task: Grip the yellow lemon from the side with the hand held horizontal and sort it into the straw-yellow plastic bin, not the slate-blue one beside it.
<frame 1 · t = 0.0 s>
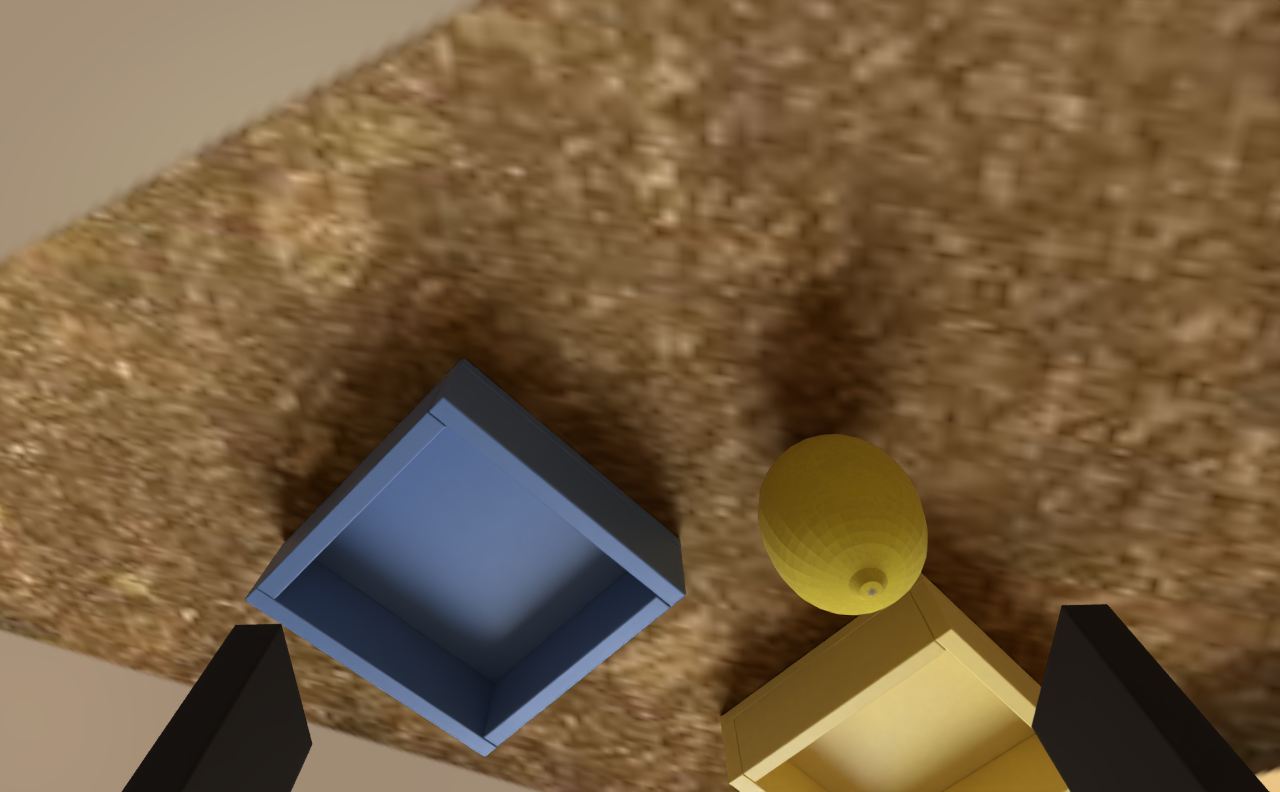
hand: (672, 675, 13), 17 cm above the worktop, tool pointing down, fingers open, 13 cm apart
yellow bin: (894, 714, 36), on the worktop
lemon: (813, 461, 31), on the worktop
blue bin: (482, 541, 32), on the worktop
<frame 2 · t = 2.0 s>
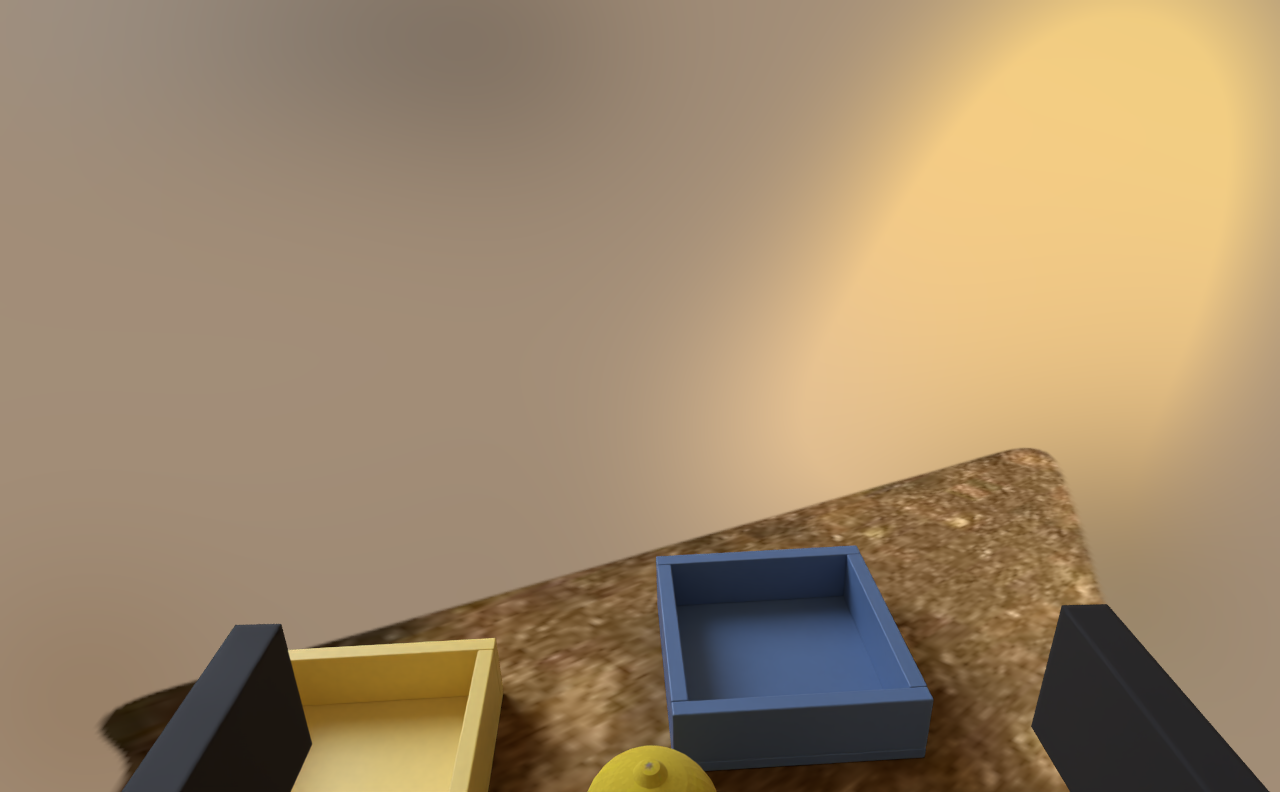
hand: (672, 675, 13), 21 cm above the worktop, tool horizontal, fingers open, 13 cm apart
blue bin: (774, 672, 41), on the worktop
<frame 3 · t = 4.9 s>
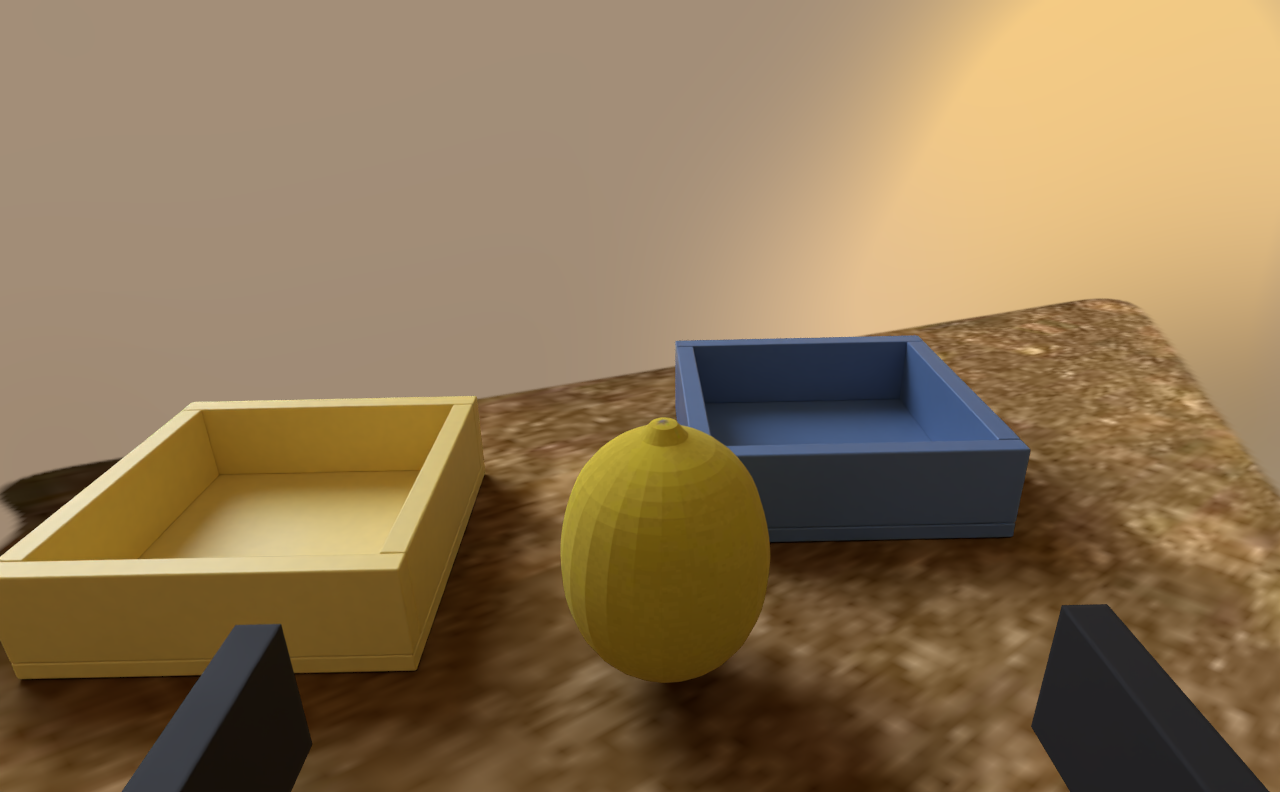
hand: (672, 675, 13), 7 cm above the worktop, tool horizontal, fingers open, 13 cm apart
yellow bin: (295, 556, 28), on the worktop
lemon: (665, 676, 22), on the worktop
blue bin: (817, 462, 33), on the worktop
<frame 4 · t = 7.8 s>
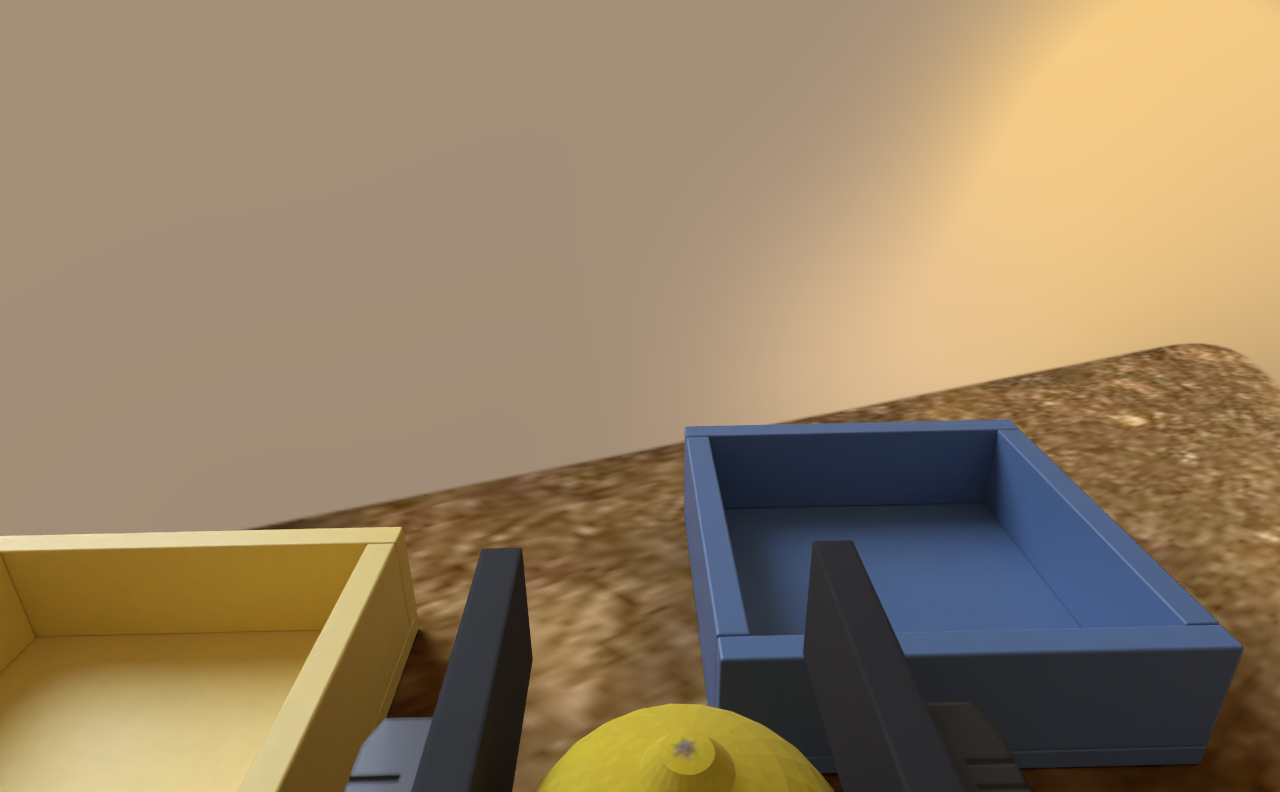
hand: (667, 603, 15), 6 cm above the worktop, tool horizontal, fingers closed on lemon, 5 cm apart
blue bin: (885, 610, 24), on the worktop
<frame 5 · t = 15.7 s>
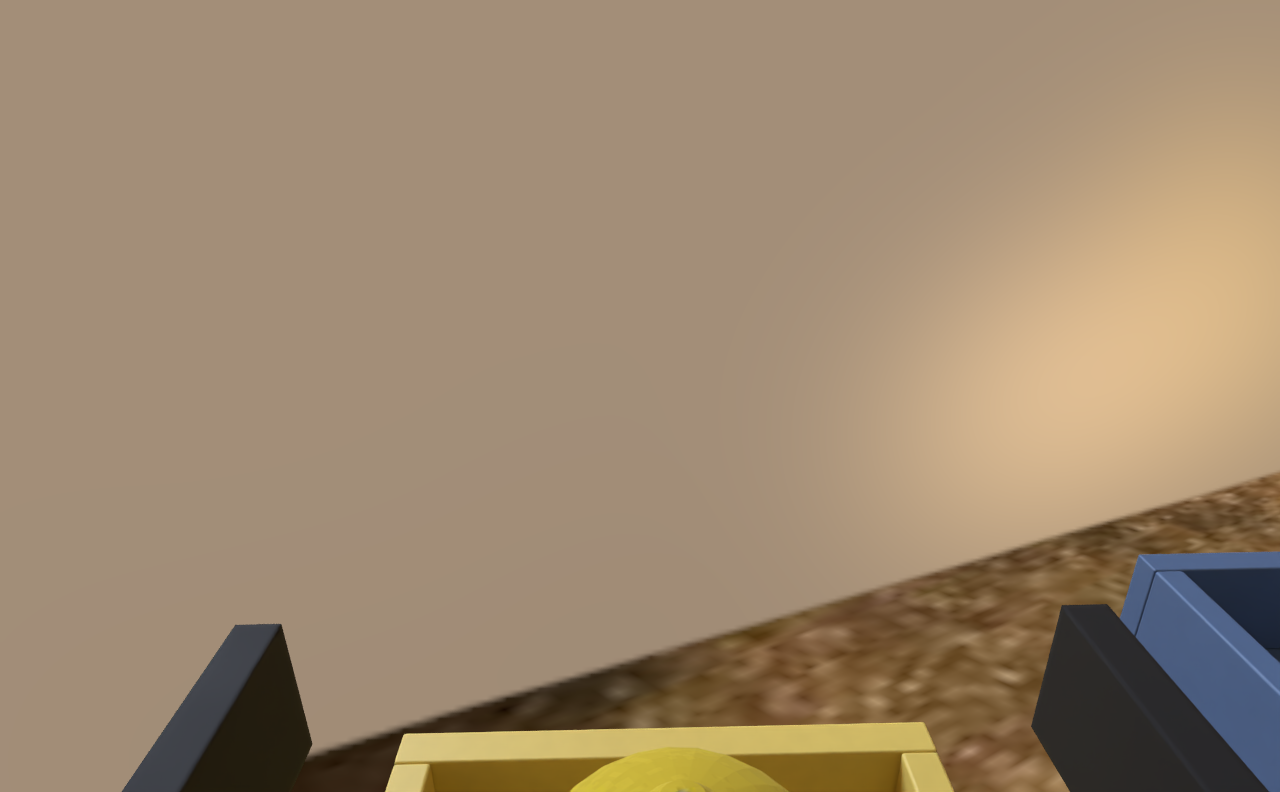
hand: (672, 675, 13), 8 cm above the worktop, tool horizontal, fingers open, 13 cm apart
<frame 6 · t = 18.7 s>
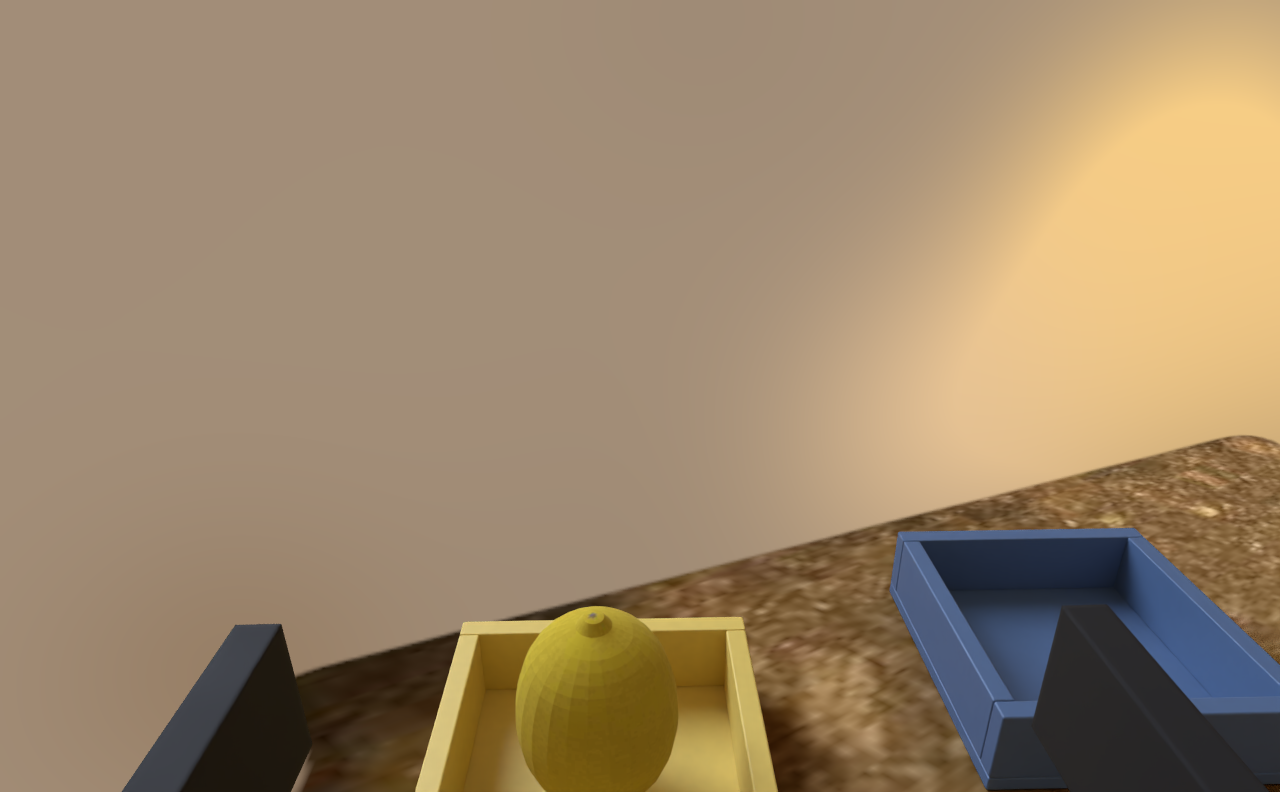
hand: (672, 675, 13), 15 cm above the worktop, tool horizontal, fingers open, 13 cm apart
blue bin: (1061, 673, 34), on the worktop
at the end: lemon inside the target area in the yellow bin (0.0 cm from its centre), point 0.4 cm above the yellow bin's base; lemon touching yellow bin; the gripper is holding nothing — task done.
